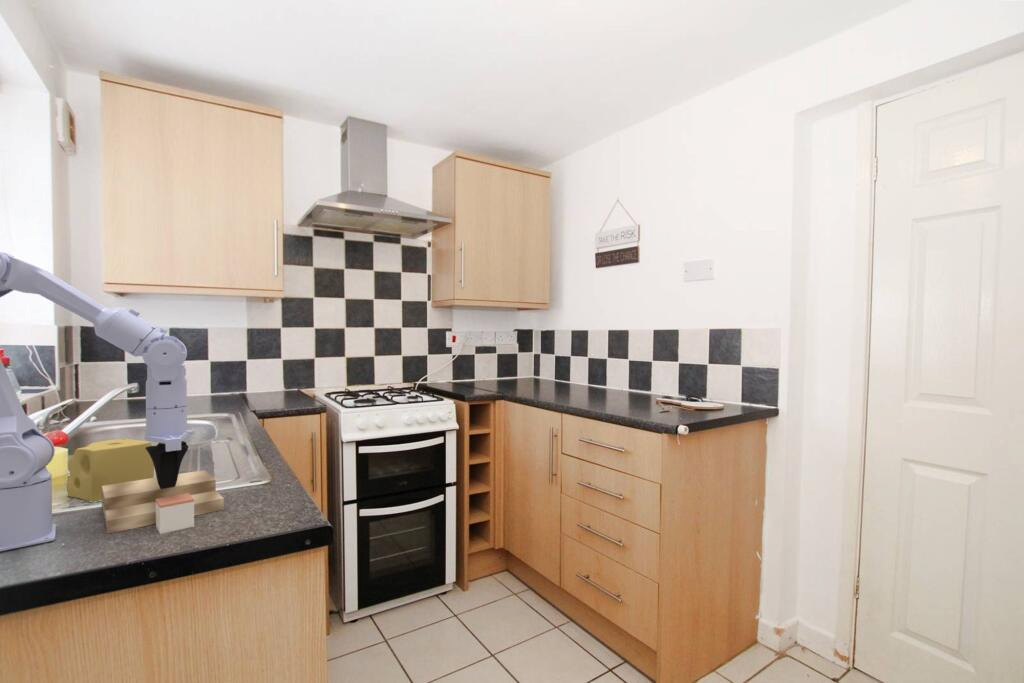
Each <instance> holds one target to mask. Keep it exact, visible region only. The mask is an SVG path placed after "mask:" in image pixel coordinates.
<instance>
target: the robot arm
mask: <svg viewBox="0 0 1024 683" xmlns="http://www.w3.org/2000/svg"><path fill="white" fill-rule="evenodd" d="M13 291H17V292H20V293H23V294H33V295H39V296H41V297H43V298H45V299H47V300H49V301H50V302H52V303H54V304H56V305H58V306H60V307H62V308H63V309H66V310H67V311H70V312H71V313H73V314H74V315H77V316H79V317H81V318H82V319H84V320H87V321H88V322H91V323H92V325H93V327H94V333H95V335H96V337H97V336H98V337H99V338H101V339H103V340H105V341H106V342H108V343H110V344H111V345H114V346H115V347H117V348H119V349H121V350H122V351H124V352H126V353H128V354H130V355H131V356H132V357H135V358H137V357H142V360H143V362H144V363H145V365H146V370H147V371H146V372H147V374H146V375H147V377H146V378H147V379H146V381H145V434H144V441H147V442H151V443H152V442H153V443H157V444H156V445H152V446H149V447H146V448H145V449H146V450H147V451H148V453H149V455H150V457H151V459H152V461H153V464H154V473H155V476H156V477H157V481H158V484H159V487H160V489H165V488H171V487H175V485H176V482H177V478H178V474H180V469H181V465H182V461H183V459H184V457H185V455H186V453H187V452H188V451H189V450H188V449H189V445H188V444H187V442H186V441H183V440H185V439H186V438H187V437H189V436H194V435H196V430H195V429H188V389H187V388H188V387H187V383H188V381H187V378H186V375H187V369H186V366H185V365H184V363H185V362H186V359H187V357H188V350H187V347H186V345H185V344H184V343H183V342H182V340H179V339H178V337H176V336H172V335H166V334H167V333H168V329H166V328H164V326H163V327H160V328H159V327H157V326H155V325H154V324H152V323H151V322H149V321H147V320H145V319H143V318H142V317H140V316H139V315H140V311H137V310H136V309H134V308H130V309H129V310H128V309H127V308H125V307H124V306H116V307H106V306H104V305H103V304H102V303H100V302H98V301H97V300H95V299H93V298H92V297H90V296H88V295H87V294H86V293H84V292H82V291H80V290H79V289H77V288H75V287H74V286H72V285H70V284H69V283H67V282H65V280H62V279H61V278H59V277H57V276H56V275H55V274H53V273H52V272H50V271H47V270H46V269H43V268H41V267H39V266H36V265H34V264H31V263H29V262H27V261H24V260H22V259H19V258H17V257H15V256H14V255H11V254H9V253H6V252H2V251H0V298H2V297H4V296H6V295H8V294H10V293H12V292H13ZM55 452H56V449H55V445H54V442H53V441H52V440H51V439H50V438H49V437H47V436H46V435H45V434H43V433H42V432H40V431H39V429H38V427H37V425H36V422H35V421H34V420H32V419H31V418H30V417H29V416H28V415H27V414H26V412H25V410H24V408H23V405H22V403H21V402H20V398H19V397H18V395H17V393H16V390H15V388H14V386H13V383H12V381H11V379H10V377H9V374H8V372H7V369H6V368H5V365H4V364H3V361H2V359H1V357H0V552H4V551H8V550H13V549H19V548H24V547H28V546H34V545H38V544H43V543H48V542H53V541H55V540H56V533H57V532H56V531H57V524H56V523H53V478H52V475H53V474H52V473H51V472H50V471H49V470H48V468H47V467H46V466H48V465H49V464H50V463H51V461H53V458H54V456H55ZM156 477H155V478H156Z"/></svg>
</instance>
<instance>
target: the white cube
mask: <svg viewBox="0 0 1024 683" xmlns="http://www.w3.org/2000/svg"><path fill="white" fill-rule="evenodd" d="M155 527H156V529H157V531H158V533H159V534H160V535H163V534H166V533H171V532H176V531H180V530H184V529H188V528H189V529H190V528H192V527H193V528H194V527H195V516H194V499H193V497H192V496H191V495H190V494H189V493H186V494H180V495H175V496H169V497H164V498H159V499H156V524H155Z"/></svg>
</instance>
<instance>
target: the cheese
mask: <svg viewBox="0 0 1024 683" xmlns="http://www.w3.org/2000/svg"><path fill="white" fill-rule="evenodd" d="M149 446H153V445H152V441H146V440H139V439H132V438H126V437H125V438H117V439H116V438H115V439H106V440H103V441H102V440H100V441H95V442H92V443H91V442H90V443H89V444H87V446H84V447H79V448H76V449H75V450H74V452H73V454H72V456H70V457H69V460H68V464H67V465H68V471H69V476H68V479H67V480H66V492H67V495H68V497H70V498H77V499H80V500H83V501H85V502H89V501H92V502H94V501H99V500H102V486H105V485H111V484H117V483H124V482H130V481H137V480H143V479H150V478H154V477H155V476H154V475H155V474H154V473H155V468H154V464H153V461H152V459H151V457H150V455H149V453H148V451H147V450H146V449H145V448H146V447H149ZM92 502H91V503H92Z"/></svg>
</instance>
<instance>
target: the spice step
mask: <svg viewBox="0 0 1024 683" xmlns="http://www.w3.org/2000/svg"><path fill="white" fill-rule="evenodd" d="M216 481H217V480H216V479H215V478H214V477H213V475H211V474H210V473H208V471H206V469H201V470H195V471H190V472H189V471H188V472H182V473H179V474H178V478H177V482H176V485H175V487H171V488H165V489H160V487H159V484H158V481H157V477H153V478H150V479H143V480H137V481H130V482H124V483H117V484H111V485H105V486H102V501H101V509H103V510H102V514H104V515H103V519H105V520H104V524H105V527H106V528H105V529H106V533H107V534H113V533H118V532H122V531H127V530H132V529H137V528H142V527H146V526H151V525H156V499H159V498H164V497H169V496H175V495H180V494H186V493H189V494H190V495H191V496H192V497H193V499H194V517H196V516H200V515H204V514H209V513H215V512H220V511H224V510H225V498H224V497H223V496H222V495H221V494H220V493H219V492H218V491H217V490H216V488H217V487H216V486H217V484H216V483H217V482H216Z"/></svg>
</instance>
